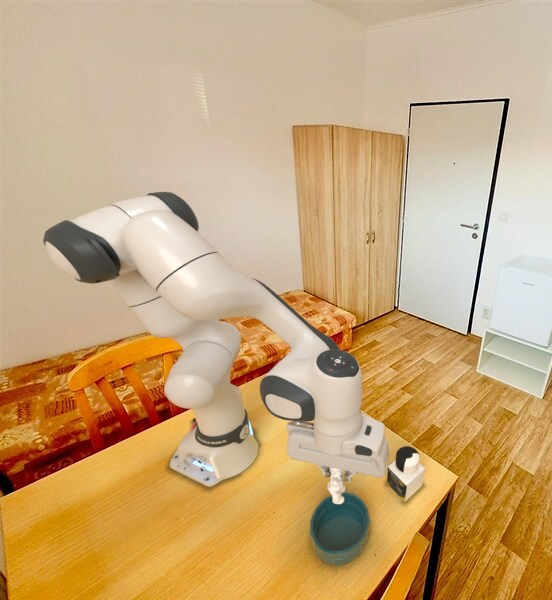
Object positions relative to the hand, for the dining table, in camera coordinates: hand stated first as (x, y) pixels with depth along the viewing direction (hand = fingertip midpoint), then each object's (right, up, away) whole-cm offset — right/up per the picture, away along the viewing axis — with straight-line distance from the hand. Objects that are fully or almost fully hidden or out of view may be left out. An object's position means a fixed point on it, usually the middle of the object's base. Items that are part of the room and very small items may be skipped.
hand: (338, 476), depth 66 cm
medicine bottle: (+14, -14, +21) cm, 28 cm away
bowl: (-1, -18, +9) cm, 20 cm away
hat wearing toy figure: (-1, -6, +3) cm, 6 cm away
